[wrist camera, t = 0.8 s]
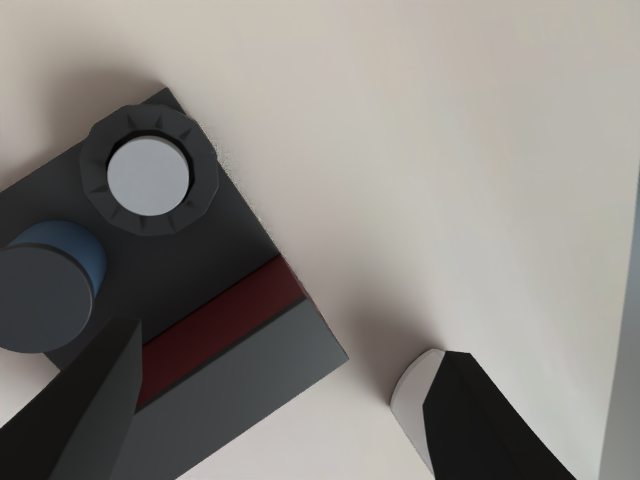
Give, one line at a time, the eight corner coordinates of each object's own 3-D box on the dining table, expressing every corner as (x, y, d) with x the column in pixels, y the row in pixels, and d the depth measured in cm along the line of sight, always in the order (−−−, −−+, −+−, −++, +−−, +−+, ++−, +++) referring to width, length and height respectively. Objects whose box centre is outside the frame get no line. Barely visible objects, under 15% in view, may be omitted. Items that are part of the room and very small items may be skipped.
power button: (97, 161, 25) (89, 166, 23) (159, 121, 25) (157, 123, 23) (143, 220, 26) (140, 230, 24) (202, 181, 26) (203, 188, 24)
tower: (66, 371, 29) (28, 458, 22) (270, 236, 30) (295, 279, 23) (124, 429, 31) (105, 528, 24) (314, 301, 32) (350, 359, 25)
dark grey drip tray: (-69, 230, 26) (-96, 244, 23) (168, 80, 27) (166, 78, 24) (79, 383, 30) (70, 408, 27) (282, 248, 31) (290, 261, 28)
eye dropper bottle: (373, 379, 35) (462, 514, 23) (443, 338, 35) (562, 451, 24) (397, 424, 36) (491, 572, 25) (464, 384, 37) (585, 511, 25)
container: (52, 323, 28) (21, 374, 23) (-15, 252, 26) (-65, 290, 21) (129, 272, 28) (116, 311, 23) (68, 198, 26) (39, 223, 21)
